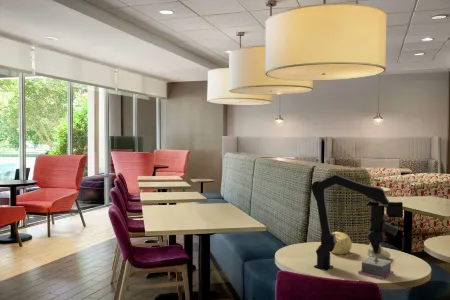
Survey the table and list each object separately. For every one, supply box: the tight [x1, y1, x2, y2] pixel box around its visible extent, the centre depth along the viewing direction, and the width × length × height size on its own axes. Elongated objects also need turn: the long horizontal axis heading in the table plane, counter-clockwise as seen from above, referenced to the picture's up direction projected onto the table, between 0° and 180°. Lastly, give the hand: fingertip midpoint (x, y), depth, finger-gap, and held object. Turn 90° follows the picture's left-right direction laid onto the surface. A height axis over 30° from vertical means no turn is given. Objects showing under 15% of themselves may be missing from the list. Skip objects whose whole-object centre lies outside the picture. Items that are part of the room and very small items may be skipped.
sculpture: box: [331, 231, 352, 255], centre depth 215 cm, size 12×12×11 cm
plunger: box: [372, 246, 382, 262], centre depth 183 cm, size 7×7×7 cm
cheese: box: [367, 242, 391, 260], centre depth 203 cm, size 15×7×15 cm
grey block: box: [358, 256, 395, 280], centre depth 183 cm, size 11×11×6 cm
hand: (376, 252), depth 182 cm, fingers closed on plunger, 4 cm apart
